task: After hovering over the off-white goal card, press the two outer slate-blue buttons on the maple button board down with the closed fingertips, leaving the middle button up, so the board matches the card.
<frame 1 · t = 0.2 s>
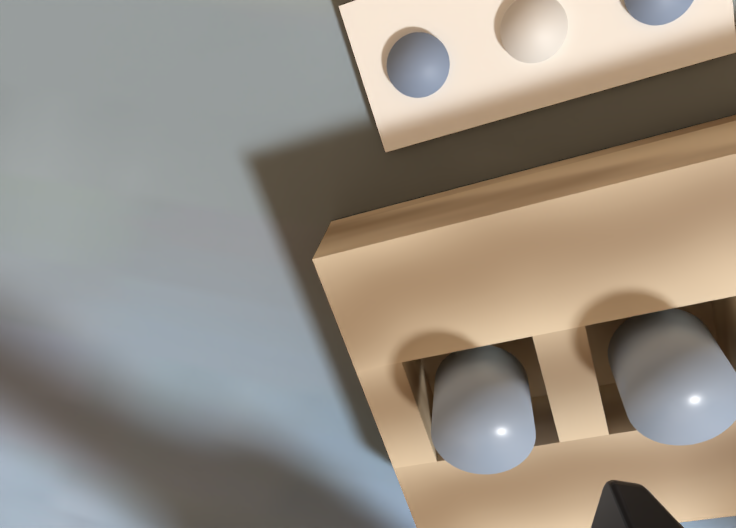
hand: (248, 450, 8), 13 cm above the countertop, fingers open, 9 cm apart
button 2: (481, 407, 20), point 3 cm above the countertop, slide at 0.0 cm
button board: (643, 317, 22), on the countertop
button middle: (670, 374, 19), point 3 cm above the countertop, slide at 0.0 cm
goal card: (532, 27, 18), on the countertop
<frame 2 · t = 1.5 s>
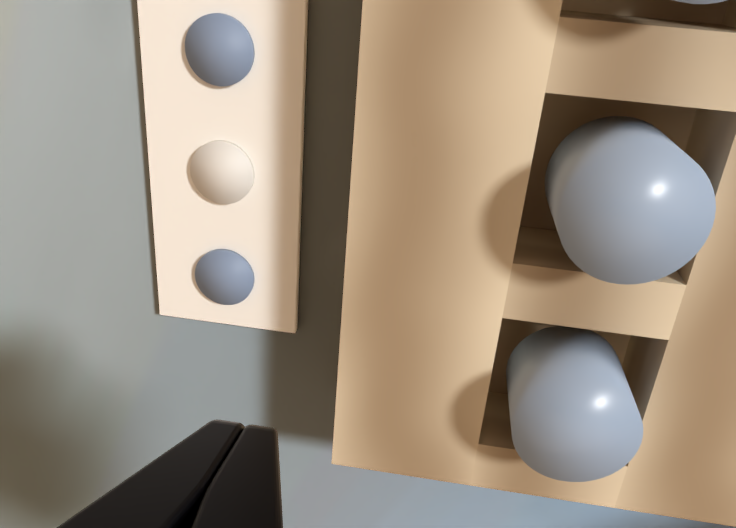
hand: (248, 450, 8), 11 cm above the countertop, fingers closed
button 2: (568, 401, 17), point 3 cm above the countertop, slide at 0.0 cm
button board: (595, 156, 17), on the countertop
button middle: (621, 197, 14), point 3 cm above the countertop, slide at 0.0 cm
goal card: (227, 168, 19), on the countertop
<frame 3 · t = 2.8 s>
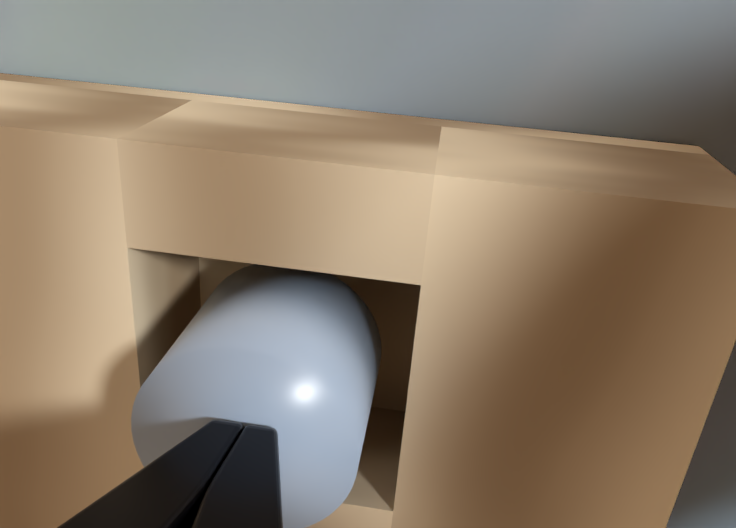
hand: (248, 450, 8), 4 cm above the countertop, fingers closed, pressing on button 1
button 1: (269, 389, 9), point 3 cm above the countertop, slide at 0.2 cm, touching gripper
button board: (303, 510, 15), on the countertop
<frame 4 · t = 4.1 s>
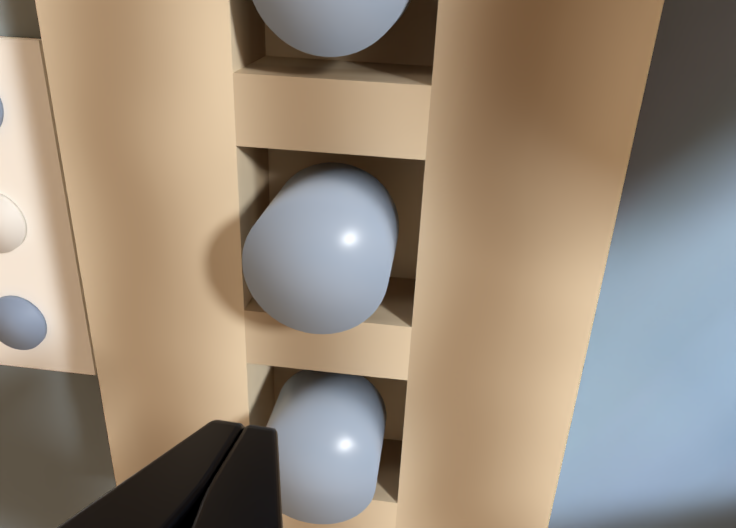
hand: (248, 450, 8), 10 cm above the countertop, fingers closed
button 2: (323, 442, 17), point 3 cm above the countertop, slide at 0.0 cm
button board: (348, 196, 17), on the countertop
button middle: (326, 245, 14), point 3 cm above the countertop, slide at 0.0 cm
goal card: (3, 217, 19), on the countertop
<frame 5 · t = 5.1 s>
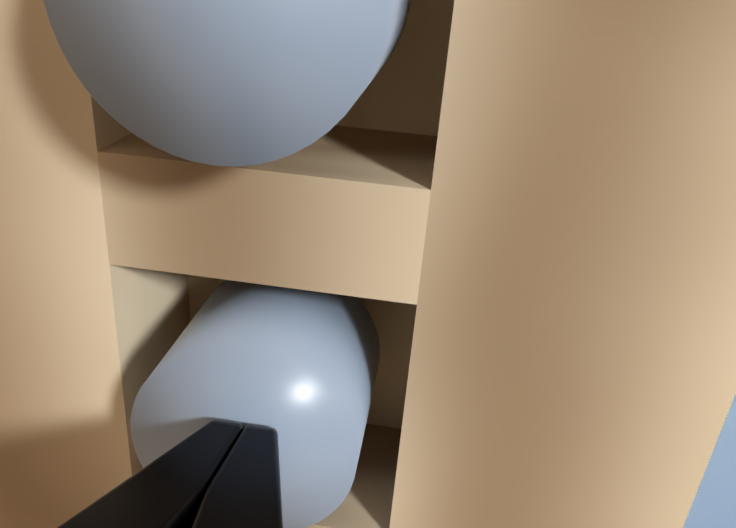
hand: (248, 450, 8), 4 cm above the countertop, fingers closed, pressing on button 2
button 2: (268, 391, 10), point 3 cm above the countertop, slide at 0.7 cm, touching gripper
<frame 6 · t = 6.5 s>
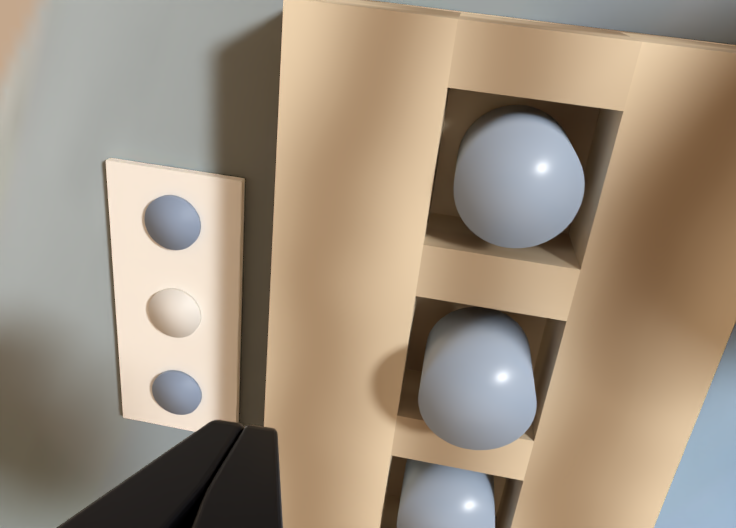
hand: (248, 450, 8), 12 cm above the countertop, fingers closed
button 1: (515, 174, 16), point 2 cm above the countertop, slide at 1.0 cm
button 2: (447, 500, 21), point 2 cm above the countertop, slide at 1.0 cm
button board: (477, 319, 21), on the countertop
button middle: (476, 376, 18), point 3 cm above the countertop, slide at 0.0 cm
goal card: (179, 307, 22), on the countertop
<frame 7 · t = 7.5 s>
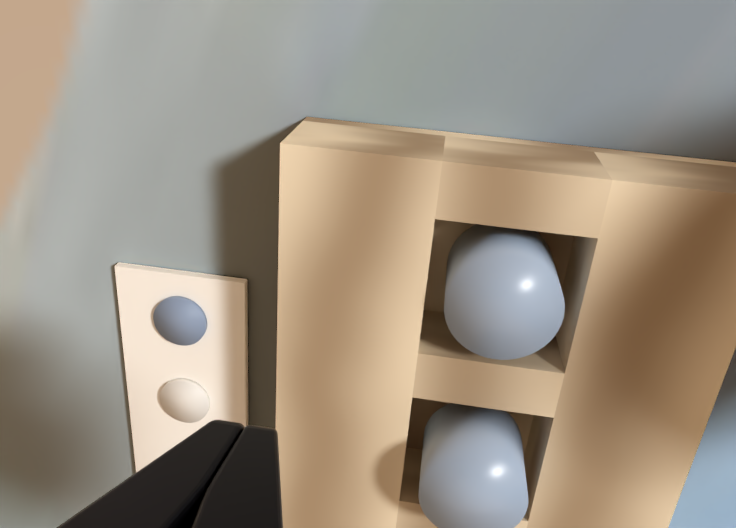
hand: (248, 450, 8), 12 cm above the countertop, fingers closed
button 1: (501, 287, 18), point 2 cm above the countertop, slide at 1.0 cm
button board: (471, 400, 22), on the countertop
button middle: (472, 467, 19), point 3 cm above the countertop, slide at 0.0 cm
goal card: (189, 393, 24), on the countertop
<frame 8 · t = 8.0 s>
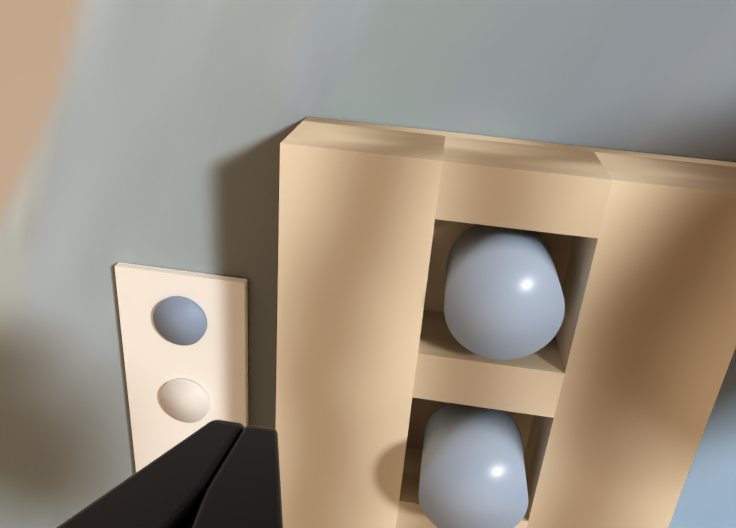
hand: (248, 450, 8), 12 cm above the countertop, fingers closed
button 1: (501, 287, 18), point 2 cm above the countertop, slide at 1.0 cm
button board: (471, 400, 22), on the countertop
button middle: (472, 467, 19), point 3 cm above the countertop, slide at 0.0 cm
goal card: (189, 393, 24), on the countertop
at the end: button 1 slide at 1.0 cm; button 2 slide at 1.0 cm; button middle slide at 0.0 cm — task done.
